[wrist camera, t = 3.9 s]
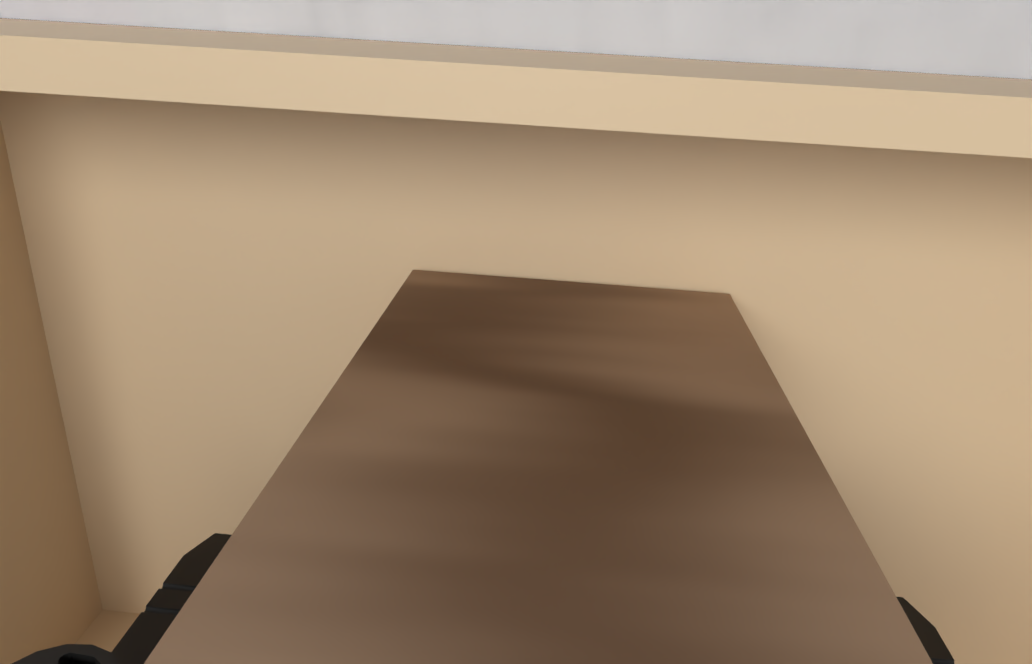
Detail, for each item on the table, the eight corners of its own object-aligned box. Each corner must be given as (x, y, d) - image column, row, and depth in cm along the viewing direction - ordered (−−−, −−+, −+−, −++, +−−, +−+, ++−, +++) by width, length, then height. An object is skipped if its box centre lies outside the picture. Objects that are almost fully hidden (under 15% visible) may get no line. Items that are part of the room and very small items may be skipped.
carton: (-55, 598, 19) (-281, 801, 14) (-240, 3, 14) (-714, -9, 9) (1199, 732, 18) (1450, 1020, 12) (1557, 110, 12) (2261, 172, 7)
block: (410, 527, 17) (69, 1541, 6) (410, 267, 14) (-193, 1127, 3) (686, 554, 16) (911, 1688, 5) (732, 291, 14) (1328, 1347, 3)
